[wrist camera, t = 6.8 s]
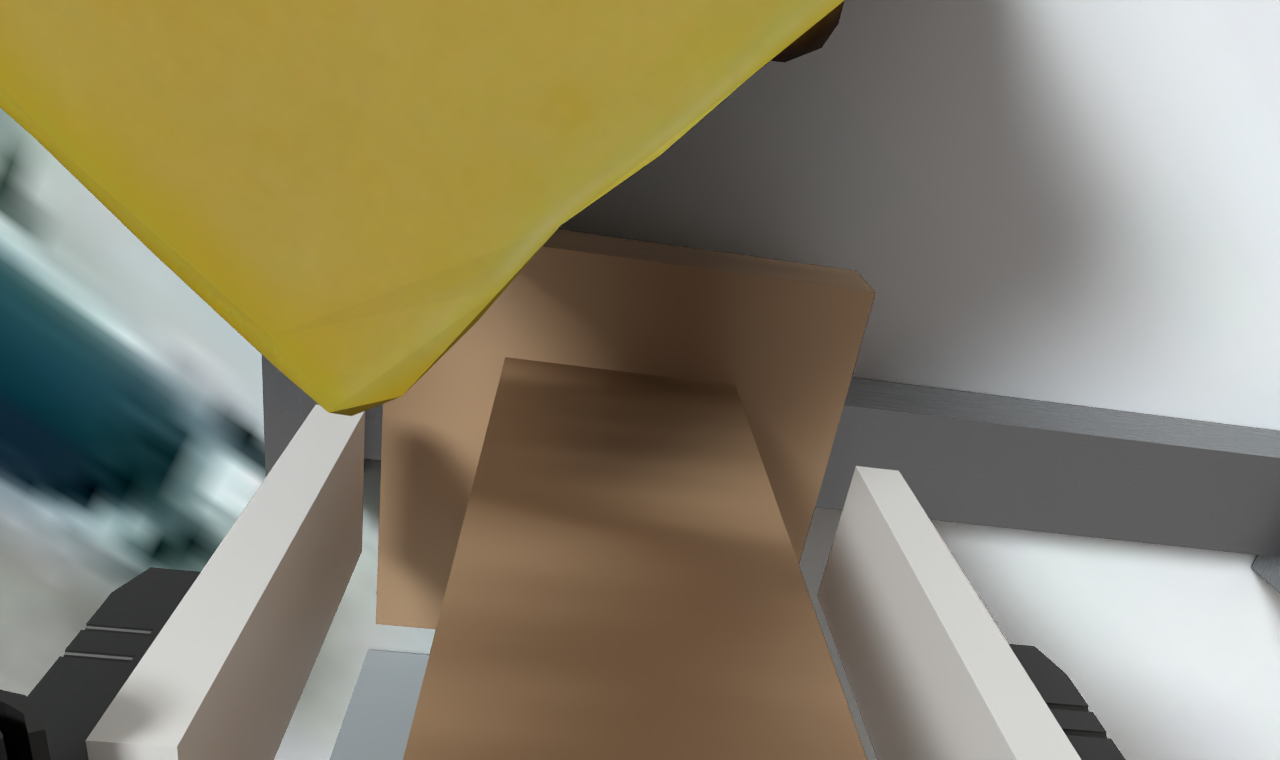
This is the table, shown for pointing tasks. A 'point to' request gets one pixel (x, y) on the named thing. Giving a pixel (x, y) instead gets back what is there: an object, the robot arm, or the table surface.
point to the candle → (370, 146)
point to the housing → (381, 707)
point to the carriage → (624, 510)
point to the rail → (1012, 464)
